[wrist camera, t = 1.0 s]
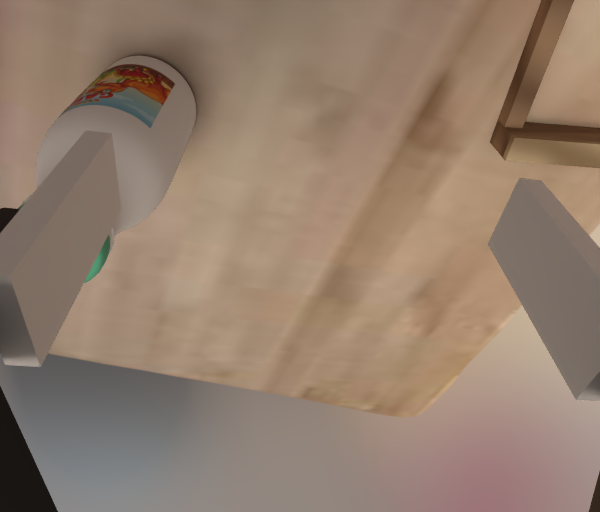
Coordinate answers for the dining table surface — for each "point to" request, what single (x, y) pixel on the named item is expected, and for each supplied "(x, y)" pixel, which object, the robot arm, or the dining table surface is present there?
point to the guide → (511, 124)
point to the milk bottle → (128, 134)
